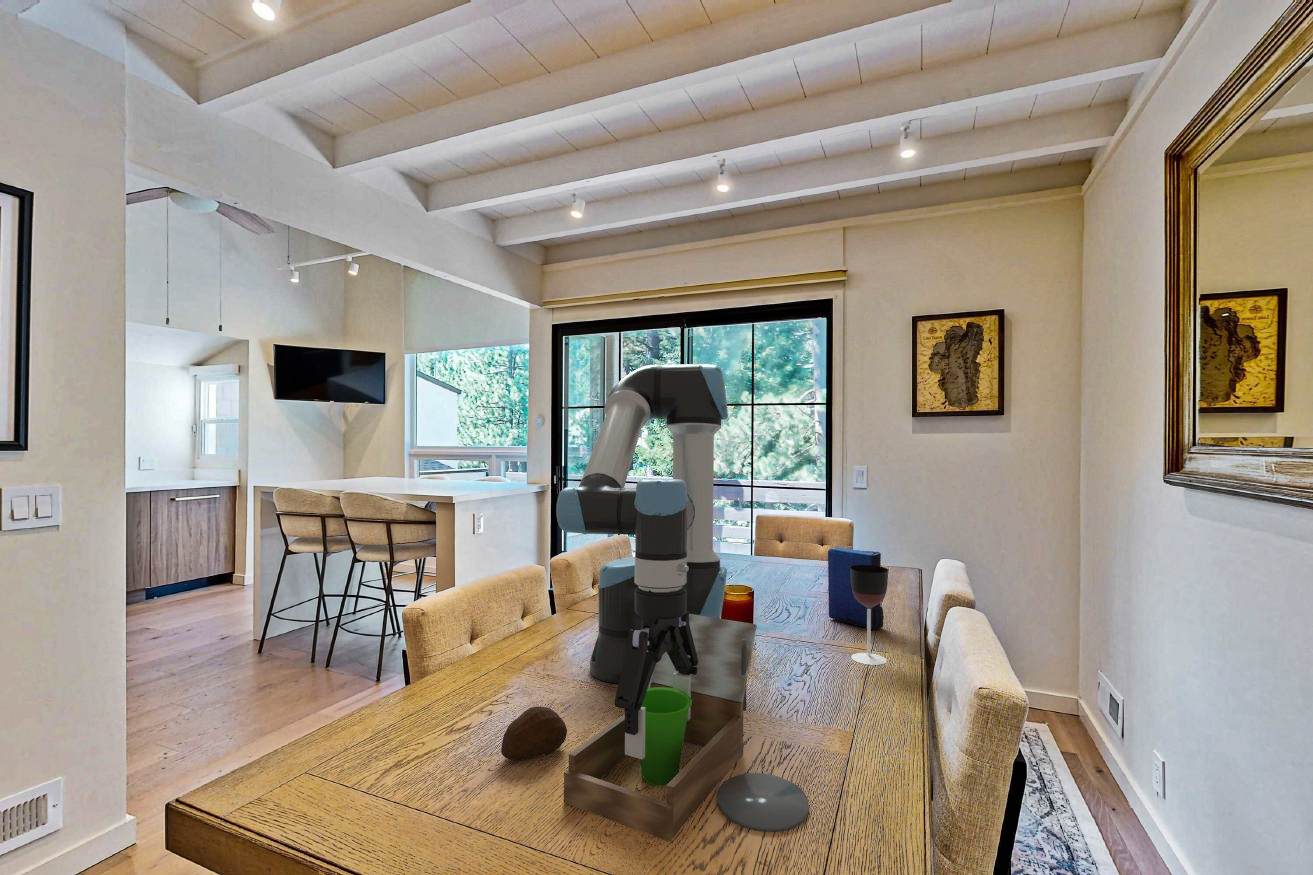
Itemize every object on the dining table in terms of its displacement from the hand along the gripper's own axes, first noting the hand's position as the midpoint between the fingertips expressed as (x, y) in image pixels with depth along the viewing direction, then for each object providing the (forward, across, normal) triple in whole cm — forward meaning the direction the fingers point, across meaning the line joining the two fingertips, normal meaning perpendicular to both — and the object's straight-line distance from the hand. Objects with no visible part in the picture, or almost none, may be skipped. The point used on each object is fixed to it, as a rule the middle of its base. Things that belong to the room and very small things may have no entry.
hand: (659, 735), depth 88 cm
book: (+5, +90, -9) cm, 91 cm away
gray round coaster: (+6, +2, -15) cm, 16 cm away
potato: (+6, -4, +20) cm, 21 cm away
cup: (+6, 0, 0) cm, 6 cm away
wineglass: (+5, +66, -17) cm, 68 cm away
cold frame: (+6, +3, 0) cm, 7 cm away
